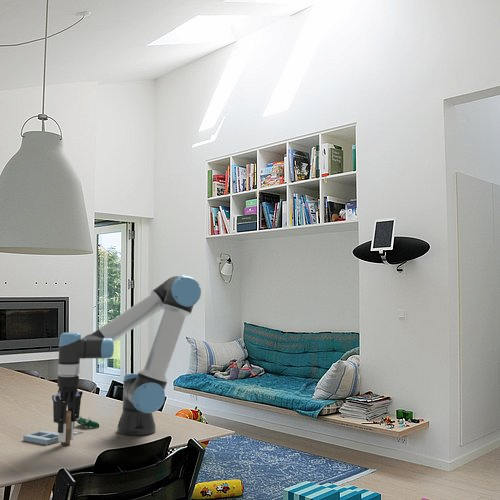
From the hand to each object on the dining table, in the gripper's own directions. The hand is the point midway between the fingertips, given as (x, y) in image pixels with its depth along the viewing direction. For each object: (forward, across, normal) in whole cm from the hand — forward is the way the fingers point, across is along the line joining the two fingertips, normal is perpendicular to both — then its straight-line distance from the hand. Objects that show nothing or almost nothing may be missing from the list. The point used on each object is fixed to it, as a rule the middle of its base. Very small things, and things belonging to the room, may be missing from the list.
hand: (65, 440), depth 224 cm
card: (+2, -13, -10) cm, 16 cm away
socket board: (+2, -1, -11) cm, 11 cm away
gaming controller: (+2, -26, -14) cm, 30 cm away
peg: (+2, 0, 0) cm, 2 cm away
